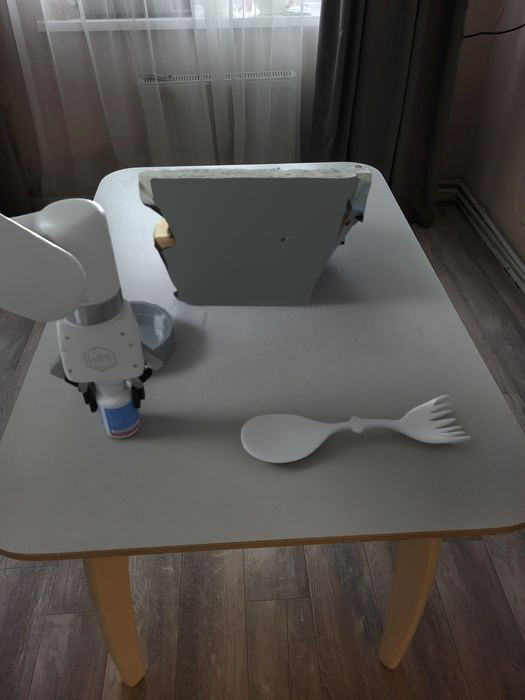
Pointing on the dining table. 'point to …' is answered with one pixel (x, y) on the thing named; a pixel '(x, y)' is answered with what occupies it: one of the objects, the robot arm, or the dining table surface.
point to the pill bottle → (117, 408)
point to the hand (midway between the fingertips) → (116, 402)
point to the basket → (251, 229)
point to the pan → (155, 327)
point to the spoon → (307, 435)
